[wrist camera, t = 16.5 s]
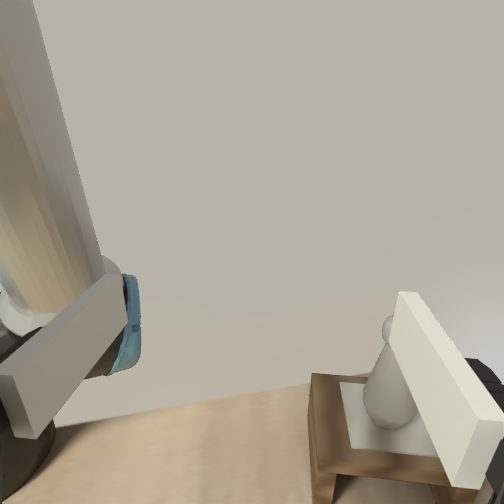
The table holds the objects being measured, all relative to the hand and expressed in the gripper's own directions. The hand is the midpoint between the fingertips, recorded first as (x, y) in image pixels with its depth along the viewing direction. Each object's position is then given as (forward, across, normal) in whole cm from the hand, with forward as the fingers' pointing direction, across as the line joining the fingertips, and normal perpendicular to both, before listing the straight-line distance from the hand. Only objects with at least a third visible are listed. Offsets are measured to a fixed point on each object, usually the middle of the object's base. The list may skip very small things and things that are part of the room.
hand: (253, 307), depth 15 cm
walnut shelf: (+16, +14, -32) cm, 38 cm away
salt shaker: (+16, +14, -24) cm, 32 cm away
